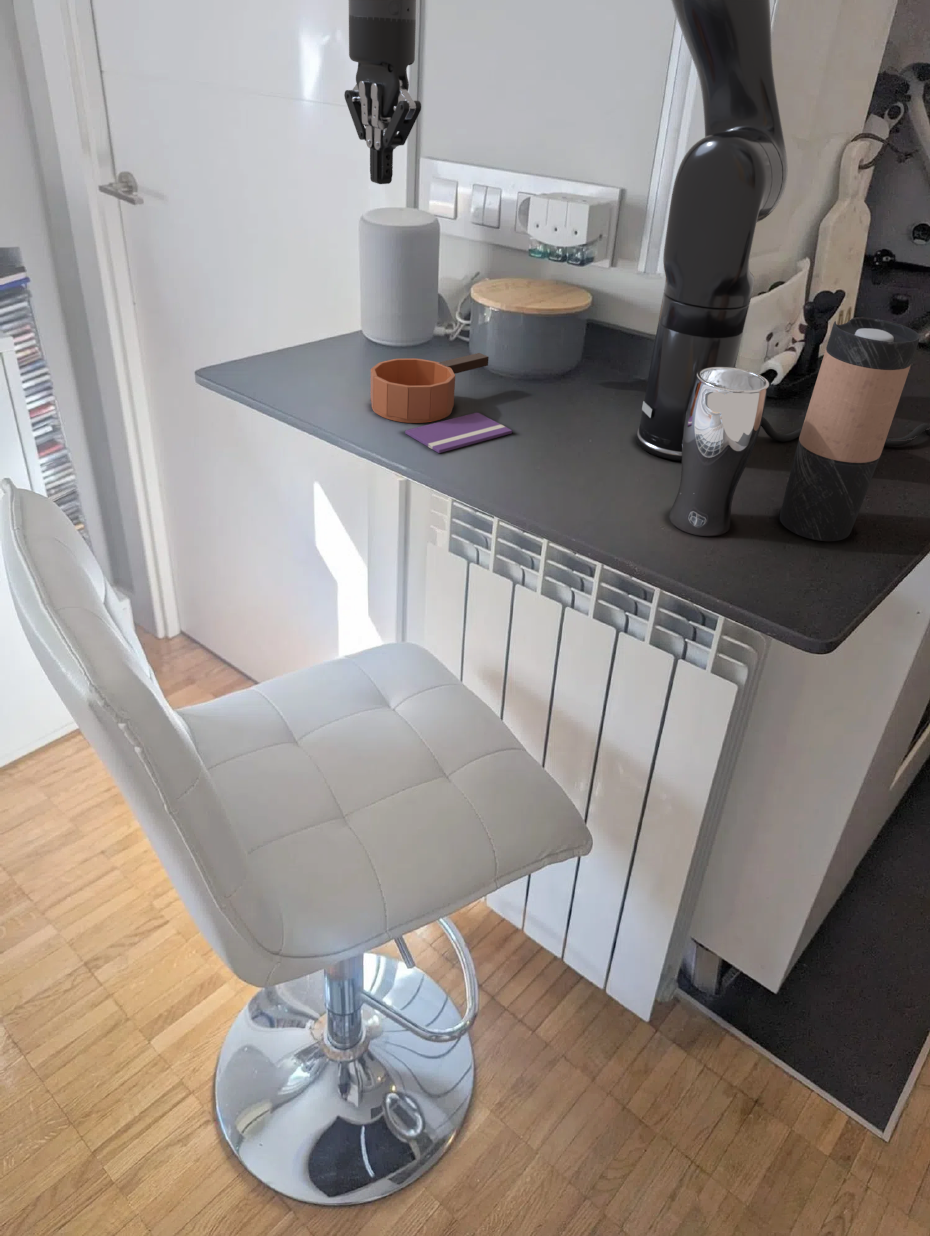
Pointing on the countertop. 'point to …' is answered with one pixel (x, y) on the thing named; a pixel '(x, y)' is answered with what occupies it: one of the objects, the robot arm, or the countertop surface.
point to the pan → (418, 387)
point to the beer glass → (717, 446)
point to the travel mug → (846, 426)
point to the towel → (458, 432)
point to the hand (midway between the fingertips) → (380, 182)
